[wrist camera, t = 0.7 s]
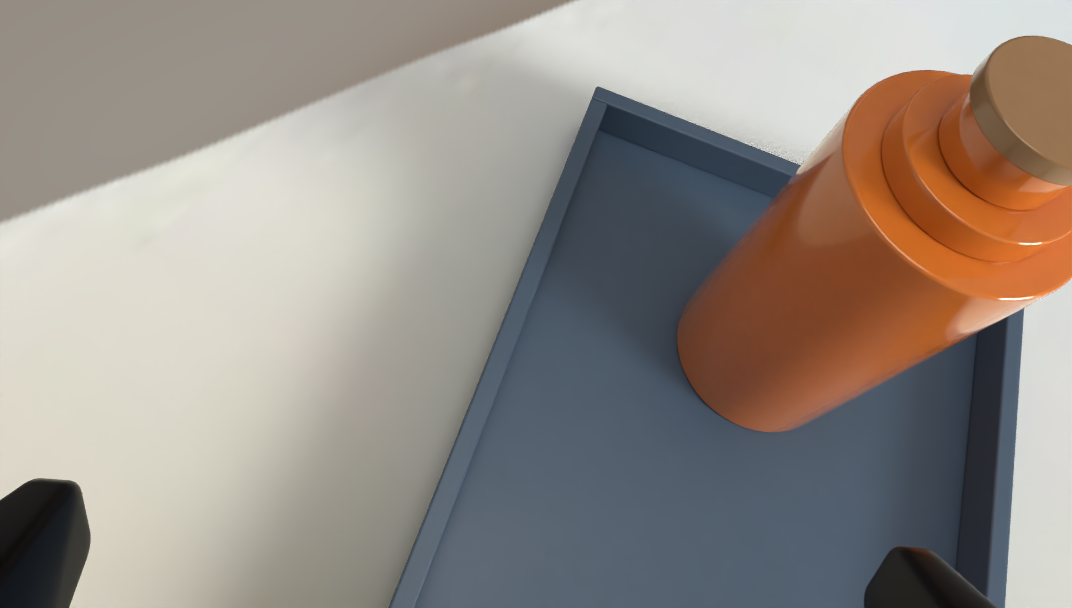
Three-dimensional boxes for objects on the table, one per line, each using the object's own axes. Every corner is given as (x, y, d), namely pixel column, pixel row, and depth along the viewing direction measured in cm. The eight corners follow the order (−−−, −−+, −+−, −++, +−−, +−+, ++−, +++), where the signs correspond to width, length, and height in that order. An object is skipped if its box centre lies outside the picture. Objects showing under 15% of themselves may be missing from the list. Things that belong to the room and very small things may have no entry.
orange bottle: (856, 427, 25) (1263, 236, 13) (692, 438, 24) (977, 242, 12) (815, 270, 27) (1133, -13, 15) (663, 274, 26) (880, -27, 14)
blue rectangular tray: (921, 959, 20) (981, 996, 18) (338, 738, 20) (331, 749, 18) (983, 281, 29) (1028, 253, 27) (582, 124, 29) (597, 84, 27)
